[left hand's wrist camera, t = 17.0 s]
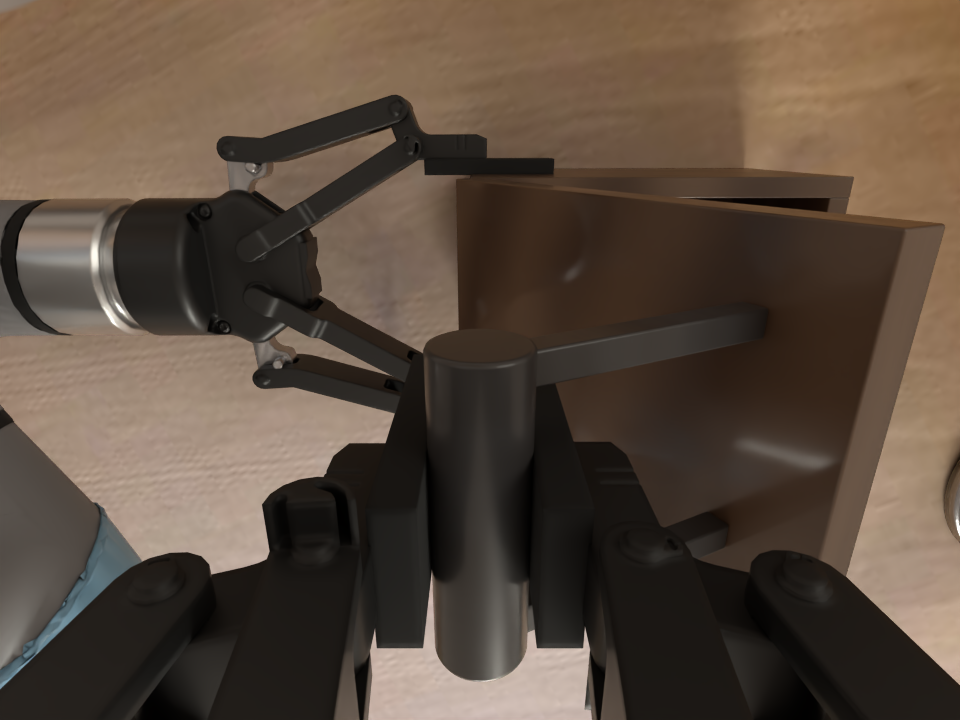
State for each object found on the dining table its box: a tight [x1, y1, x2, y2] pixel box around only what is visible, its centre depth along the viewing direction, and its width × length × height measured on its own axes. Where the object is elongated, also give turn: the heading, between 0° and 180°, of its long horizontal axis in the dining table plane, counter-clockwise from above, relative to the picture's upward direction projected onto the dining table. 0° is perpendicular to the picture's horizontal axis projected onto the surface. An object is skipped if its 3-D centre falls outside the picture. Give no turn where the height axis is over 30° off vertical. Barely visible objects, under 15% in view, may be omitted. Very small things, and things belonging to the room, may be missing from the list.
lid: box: [423, 178, 945, 682], centre depth 17 cm, size 18×10×9 cm
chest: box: [470, 168, 854, 214], centre depth 32 cm, size 17×10×11 cm, turn 90°
